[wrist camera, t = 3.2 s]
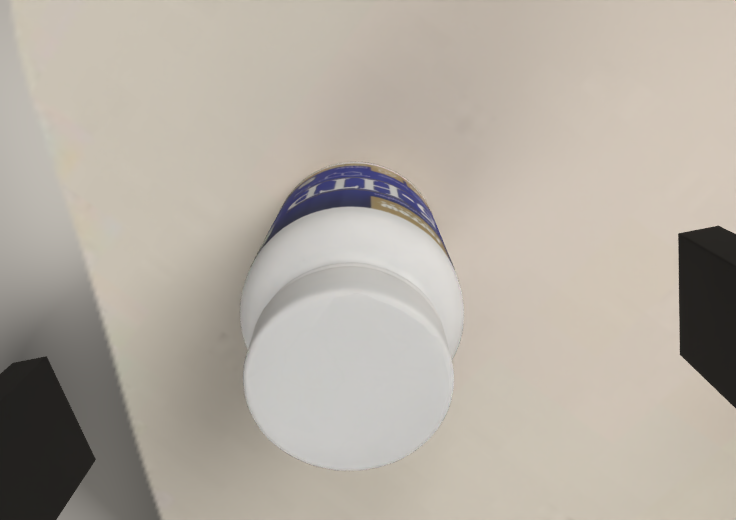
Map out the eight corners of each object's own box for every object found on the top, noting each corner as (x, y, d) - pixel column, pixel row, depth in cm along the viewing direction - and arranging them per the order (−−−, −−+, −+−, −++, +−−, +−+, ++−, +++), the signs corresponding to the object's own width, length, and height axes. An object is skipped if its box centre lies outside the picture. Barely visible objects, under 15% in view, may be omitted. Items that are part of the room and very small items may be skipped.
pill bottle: (444, 167, 18) (519, 270, 9) (423, 313, 20) (469, 507, 11) (278, 151, 18) (206, 243, 9) (272, 301, 19) (207, 490, 11)
